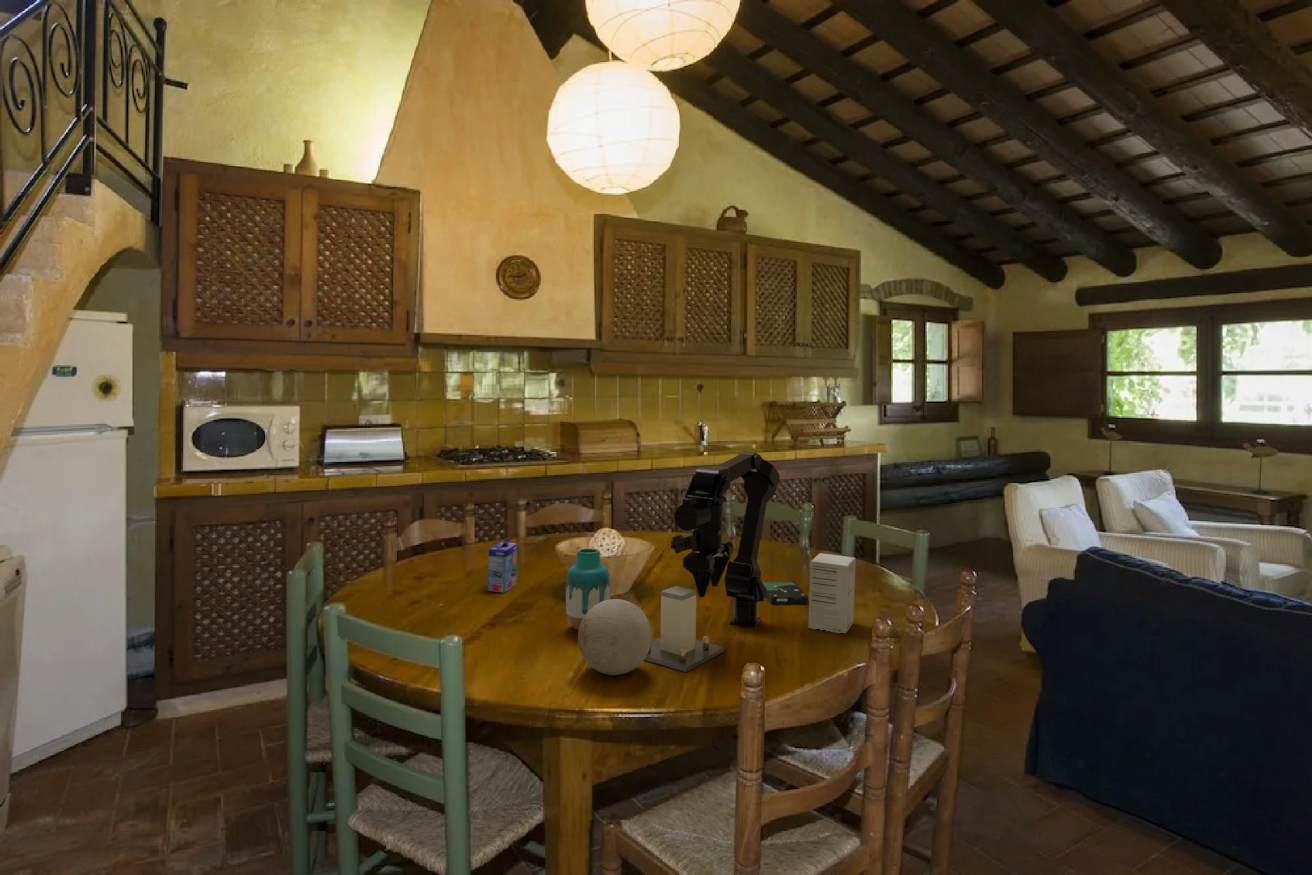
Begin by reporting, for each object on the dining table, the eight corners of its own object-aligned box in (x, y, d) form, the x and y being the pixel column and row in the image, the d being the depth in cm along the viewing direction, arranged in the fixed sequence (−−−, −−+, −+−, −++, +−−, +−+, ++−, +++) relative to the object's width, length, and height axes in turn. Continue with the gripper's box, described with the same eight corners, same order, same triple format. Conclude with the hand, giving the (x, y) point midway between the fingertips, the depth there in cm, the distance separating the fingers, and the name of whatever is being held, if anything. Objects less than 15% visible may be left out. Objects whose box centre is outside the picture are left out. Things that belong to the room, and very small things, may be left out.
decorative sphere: (653, 686, 148) (654, 611, 147) (576, 688, 147) (577, 612, 146) (648, 657, 163) (649, 589, 162) (578, 659, 162) (578, 590, 160)
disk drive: (809, 606, 203) (794, 590, 218) (809, 596, 203) (794, 580, 217) (771, 607, 202) (759, 590, 217) (771, 596, 202) (759, 581, 217)
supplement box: (817, 617, 192) (819, 552, 190) (853, 623, 188) (856, 556, 186) (807, 628, 183) (809, 560, 182) (845, 634, 179) (848, 565, 178)
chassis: (668, 636, 176) (668, 622, 176) (723, 651, 167) (724, 636, 167) (628, 655, 164) (628, 639, 164) (686, 672, 155) (686, 655, 155)
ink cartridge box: (505, 593, 209) (505, 541, 208) (486, 592, 210) (486, 540, 209) (518, 583, 219) (518, 534, 218) (500, 582, 220) (499, 533, 218)
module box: (675, 642, 170) (676, 585, 168) (695, 648, 166) (696, 590, 165) (660, 649, 165) (661, 591, 164) (680, 655, 162) (681, 595, 161)
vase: (557, 633, 178) (558, 553, 176) (577, 619, 187) (578, 543, 186) (598, 639, 174) (599, 557, 172) (617, 625, 184) (617, 547, 182)
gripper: (689, 513, 182) (688, 577, 183) (660, 527, 165) (659, 598, 166) (734, 517, 178) (732, 582, 179) (709, 532, 160) (708, 604, 162)
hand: (708, 591), depth 171 cm, fingers open, 9 cm apart
